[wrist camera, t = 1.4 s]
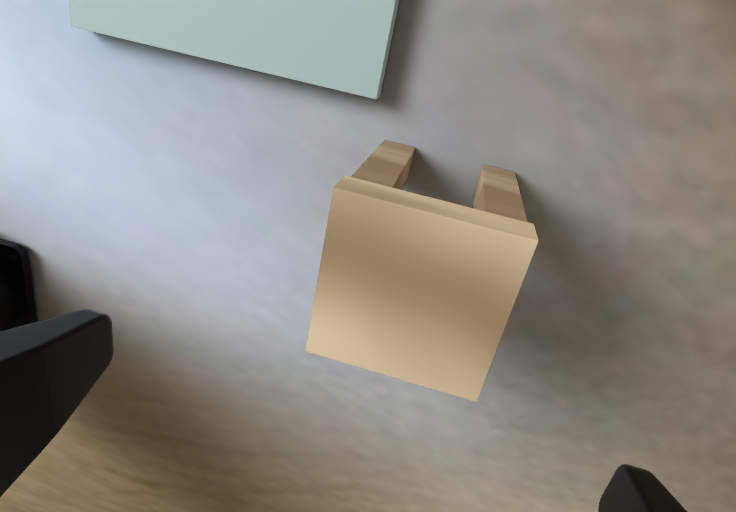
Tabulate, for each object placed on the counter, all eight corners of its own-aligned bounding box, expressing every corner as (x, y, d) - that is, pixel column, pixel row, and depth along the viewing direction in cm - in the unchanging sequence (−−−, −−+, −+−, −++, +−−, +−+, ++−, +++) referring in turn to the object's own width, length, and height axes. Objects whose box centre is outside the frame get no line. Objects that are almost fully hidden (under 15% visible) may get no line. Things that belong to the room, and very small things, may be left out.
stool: (477, 289, 20) (476, 401, 14) (357, 256, 21) (305, 351, 15) (518, 170, 18) (538, 240, 12) (382, 136, 19) (333, 187, 12)
